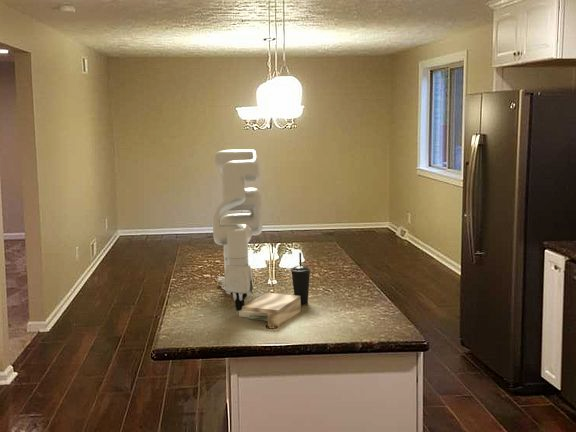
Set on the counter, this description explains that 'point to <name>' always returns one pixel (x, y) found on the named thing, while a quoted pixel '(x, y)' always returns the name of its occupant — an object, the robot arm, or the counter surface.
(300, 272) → the drinking cup
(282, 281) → the counter surface
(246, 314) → the white rectangular tray
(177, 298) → the counter surface
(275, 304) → the shelf
